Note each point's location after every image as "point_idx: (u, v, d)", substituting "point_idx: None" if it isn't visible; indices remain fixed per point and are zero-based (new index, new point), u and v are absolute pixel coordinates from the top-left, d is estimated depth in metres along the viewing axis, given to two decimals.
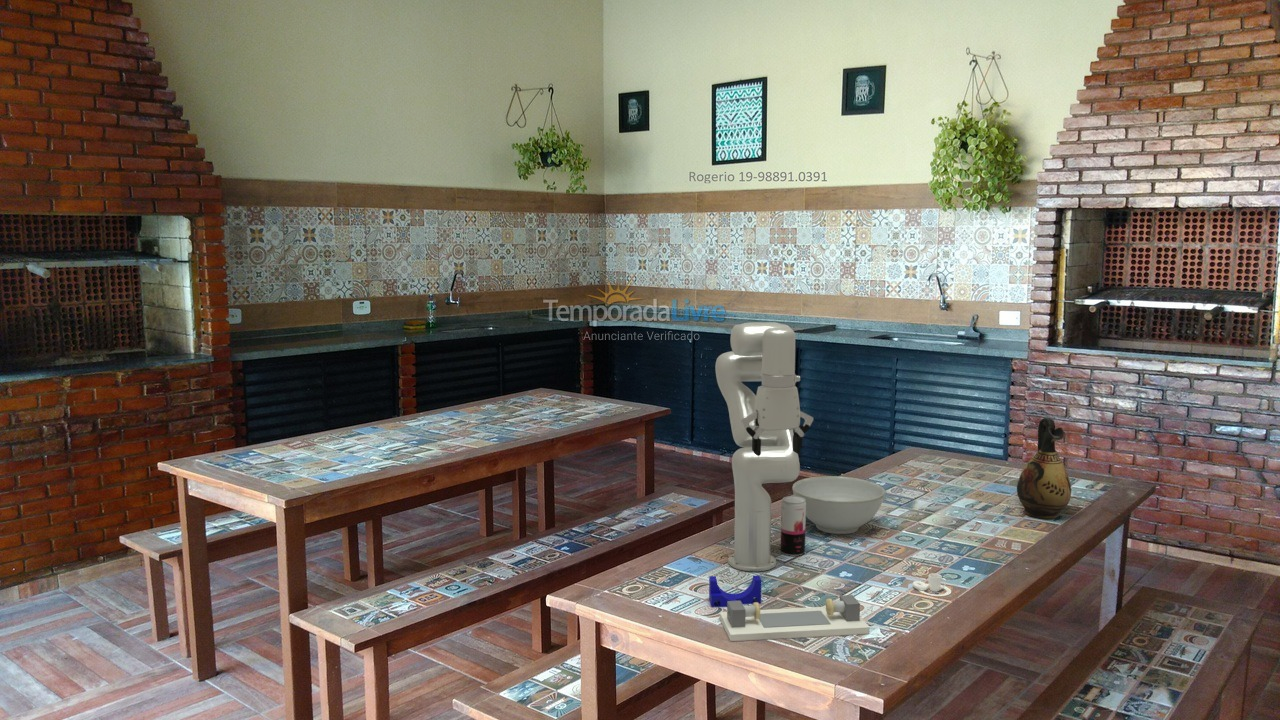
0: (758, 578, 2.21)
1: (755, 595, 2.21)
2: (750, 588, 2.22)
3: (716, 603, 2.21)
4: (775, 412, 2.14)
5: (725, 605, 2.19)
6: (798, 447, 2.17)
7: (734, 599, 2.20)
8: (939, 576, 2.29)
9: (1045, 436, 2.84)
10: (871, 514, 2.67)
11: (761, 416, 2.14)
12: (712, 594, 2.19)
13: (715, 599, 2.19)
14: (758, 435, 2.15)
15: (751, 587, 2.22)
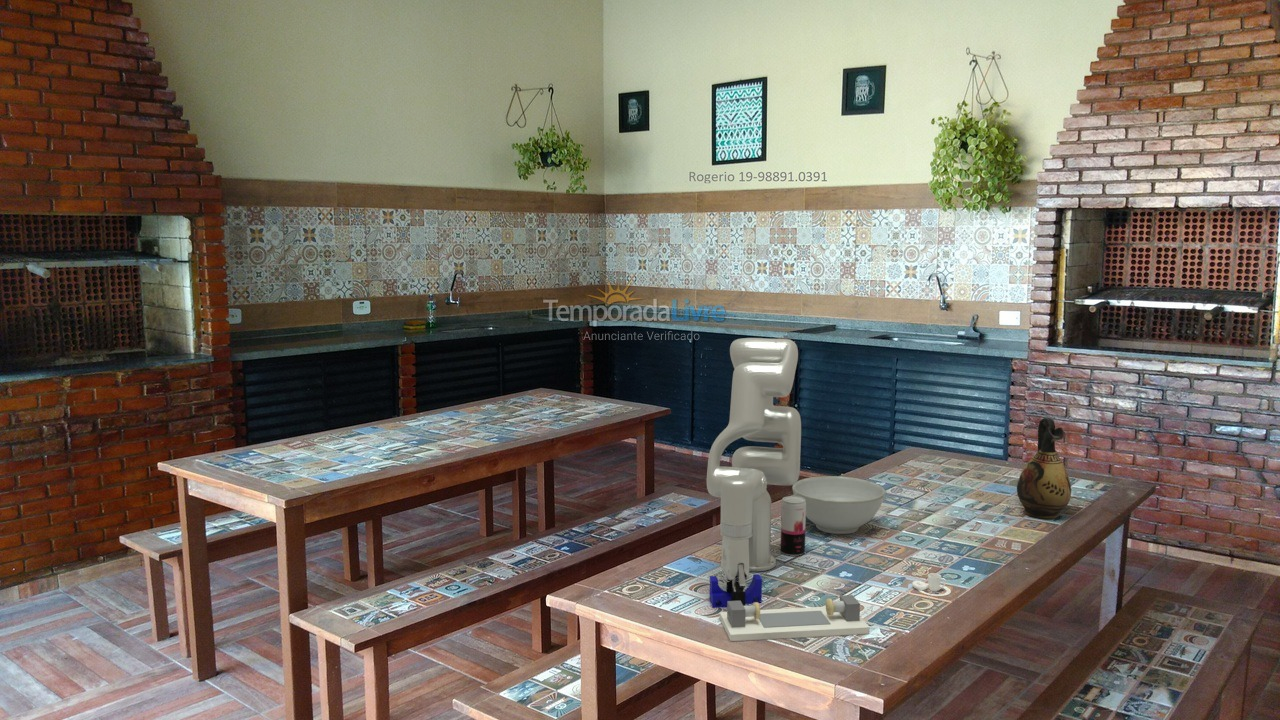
0: (758, 577, 2.21)
1: (756, 594, 2.21)
2: (751, 587, 2.22)
3: (717, 603, 2.21)
4: None
5: (726, 605, 2.19)
6: None
7: None
8: (939, 576, 2.29)
9: (1045, 436, 2.84)
10: (871, 514, 2.67)
11: (748, 566, 2.16)
12: (713, 594, 2.19)
13: (716, 599, 2.18)
14: None
15: (751, 586, 2.22)
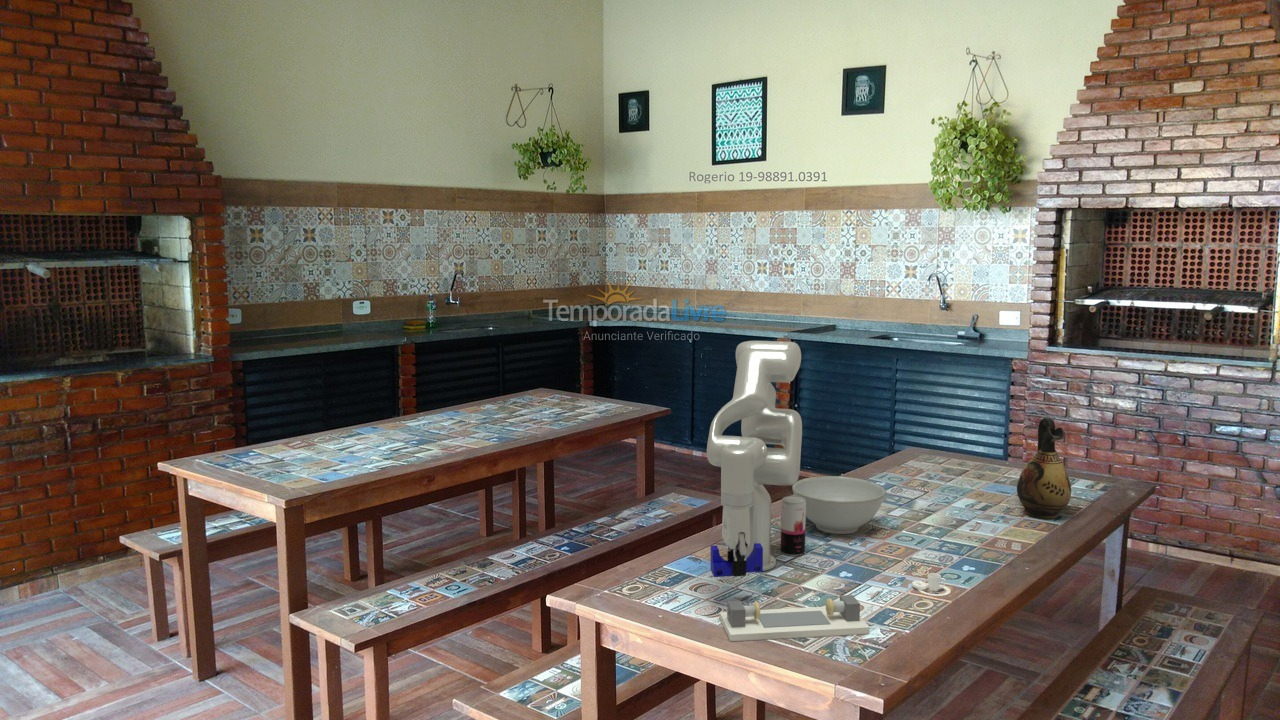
0: (759, 546, 2.21)
1: (757, 562, 2.21)
2: (752, 556, 2.22)
3: (718, 572, 2.20)
4: None
5: (727, 574, 2.19)
6: None
7: None
8: (938, 576, 2.29)
9: (1045, 436, 2.84)
10: (871, 514, 2.67)
11: (749, 535, 2.15)
12: (714, 563, 2.19)
13: (717, 568, 2.18)
14: None
15: (752, 555, 2.22)
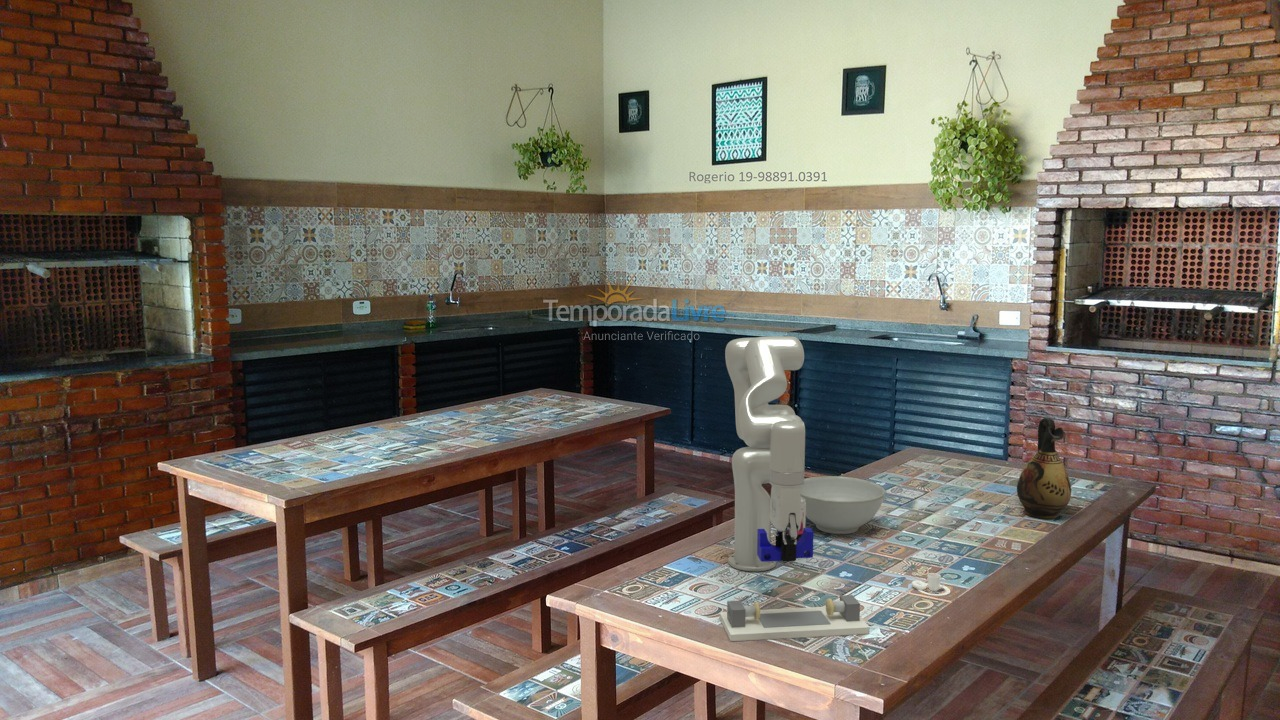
0: (810, 530, 2.08)
1: (807, 547, 2.07)
2: (801, 541, 2.08)
3: (765, 557, 2.07)
4: None
5: (776, 558, 2.06)
6: None
7: None
8: (938, 576, 2.29)
9: (1045, 436, 2.84)
10: (871, 514, 2.67)
11: (800, 516, 2.02)
12: (762, 547, 2.06)
13: (765, 552, 2.05)
14: None
15: (802, 539, 2.09)
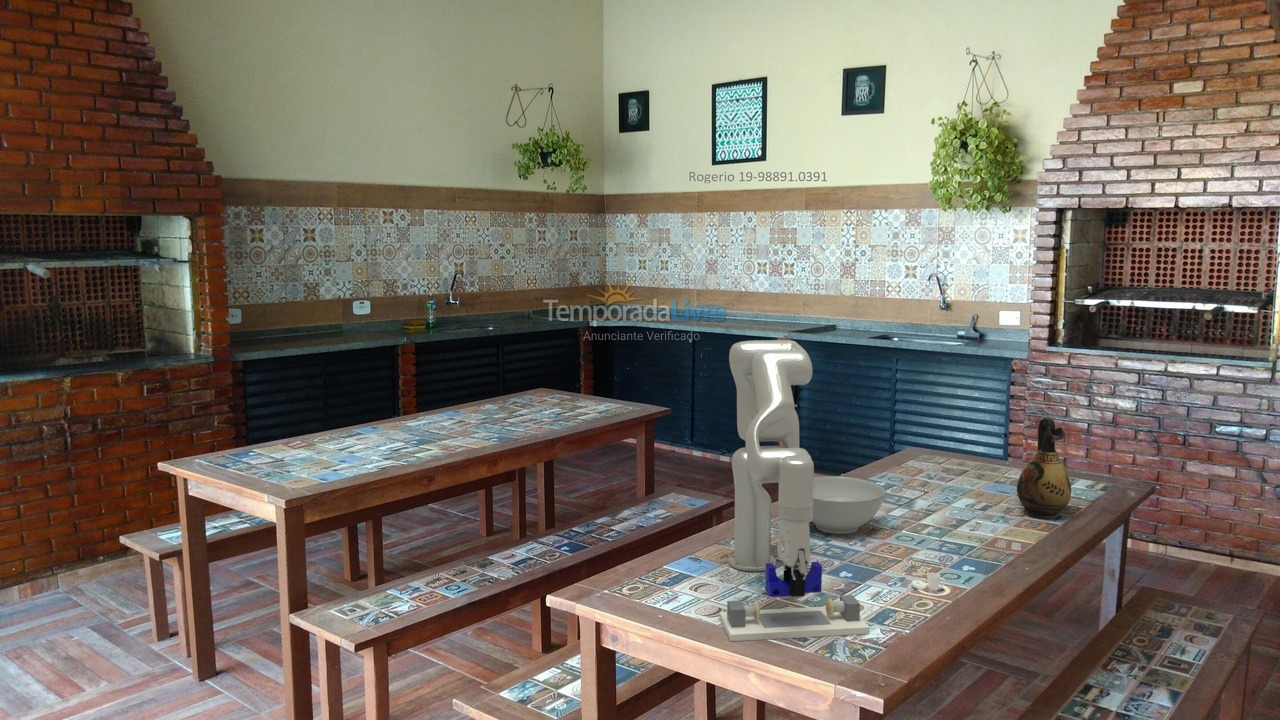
0: (818, 564, 2.07)
1: (816, 582, 2.07)
2: (810, 575, 2.08)
3: (774, 592, 2.06)
4: None
5: (784, 594, 2.05)
6: None
7: None
8: (938, 575, 2.30)
9: (1045, 436, 2.84)
10: (871, 514, 2.67)
11: (809, 552, 2.02)
12: (770, 582, 2.05)
13: (774, 587, 2.04)
14: None
15: (810, 574, 2.08)
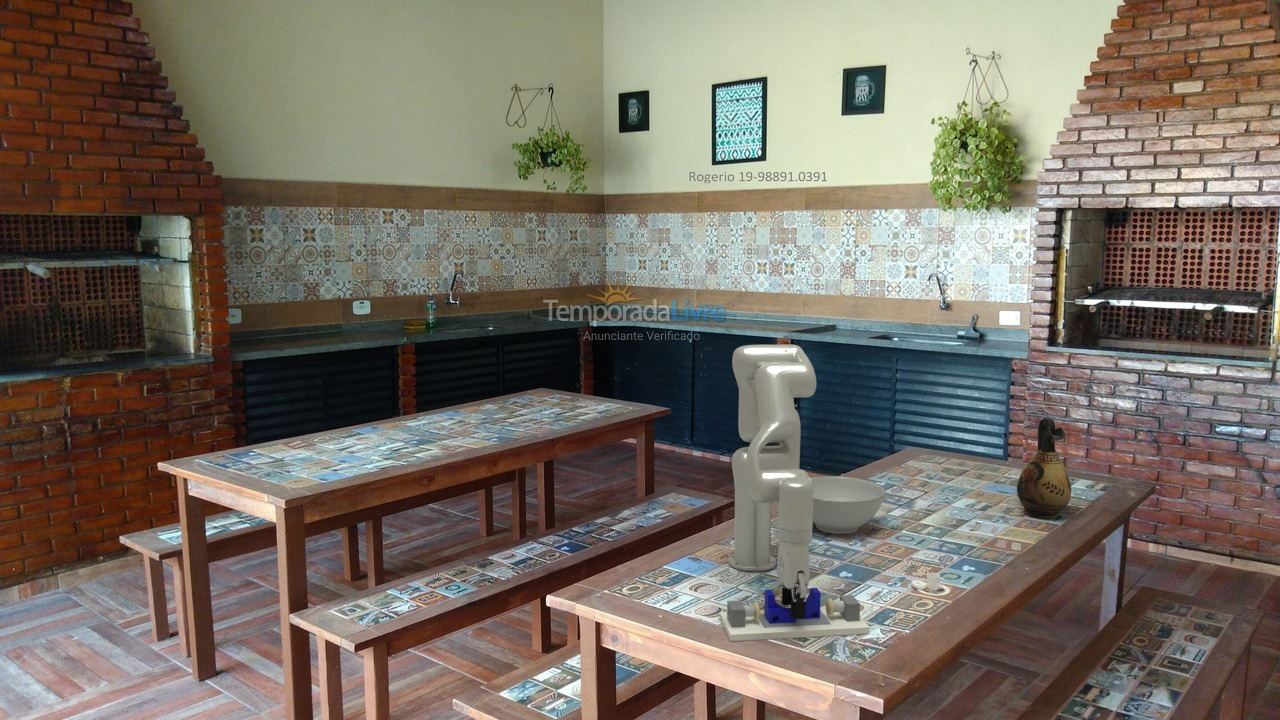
0: (817, 590, 2.09)
1: (814, 608, 2.08)
2: (808, 601, 2.09)
3: (773, 618, 2.08)
4: None
5: (784, 620, 2.06)
6: None
7: None
8: (938, 575, 2.30)
9: (1045, 436, 2.84)
10: (871, 514, 2.67)
11: (808, 574, 2.02)
12: (770, 609, 2.06)
13: (773, 614, 2.06)
14: None
15: (809, 600, 2.09)
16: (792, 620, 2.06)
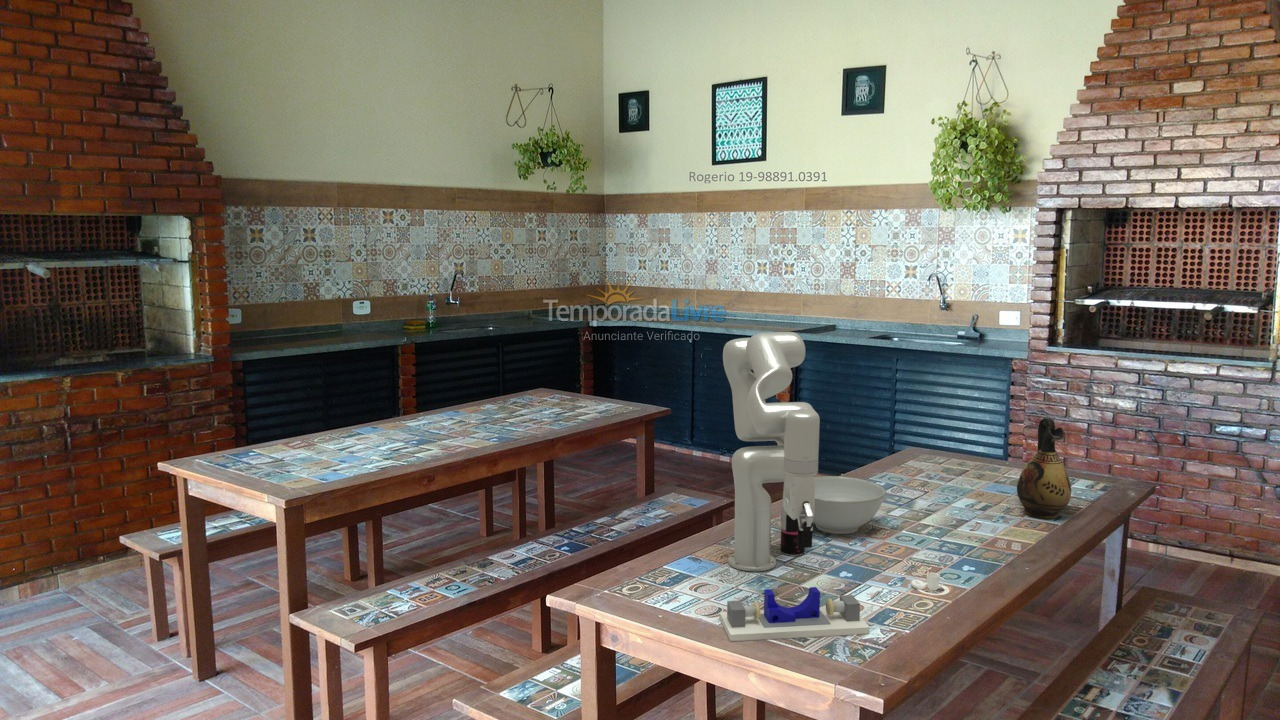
0: (816, 590, 2.09)
1: (814, 607, 2.09)
2: (808, 600, 2.10)
3: (773, 618, 2.08)
4: None
5: (783, 620, 2.06)
6: None
7: (792, 613, 2.08)
8: (937, 575, 2.30)
9: (1045, 436, 2.84)
10: (871, 514, 2.67)
11: (814, 505, 2.03)
12: (769, 608, 2.06)
13: (773, 614, 2.06)
14: None
15: (808, 599, 2.10)
16: (792, 619, 2.07)
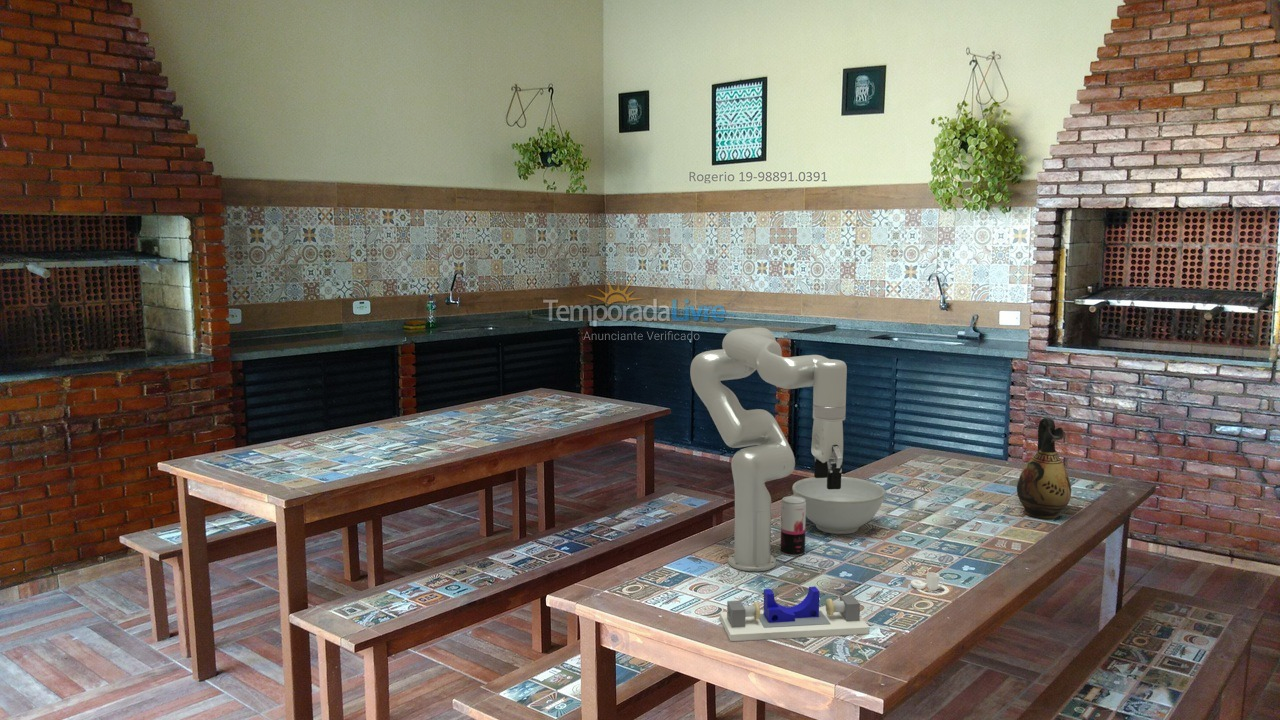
0: (815, 589, 2.09)
1: (813, 607, 2.09)
2: (807, 600, 2.10)
3: (772, 617, 2.08)
4: None
5: (783, 619, 2.07)
6: (827, 471, 2.25)
7: (792, 612, 2.08)
8: (937, 575, 2.30)
9: (1045, 436, 2.84)
10: (871, 514, 2.67)
11: (842, 448, 2.15)
12: (769, 608, 2.07)
13: (773, 613, 2.06)
14: None
15: (807, 599, 2.10)
16: (791, 619, 2.07)
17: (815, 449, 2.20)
